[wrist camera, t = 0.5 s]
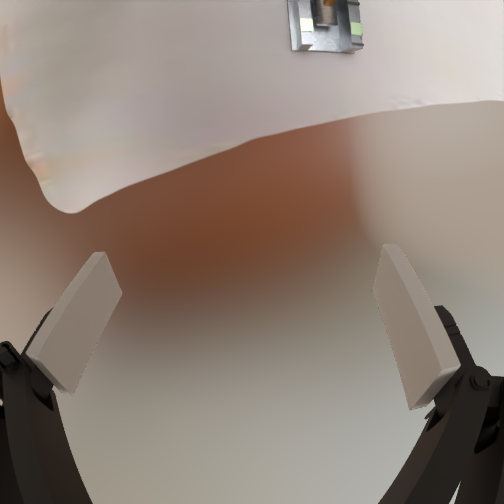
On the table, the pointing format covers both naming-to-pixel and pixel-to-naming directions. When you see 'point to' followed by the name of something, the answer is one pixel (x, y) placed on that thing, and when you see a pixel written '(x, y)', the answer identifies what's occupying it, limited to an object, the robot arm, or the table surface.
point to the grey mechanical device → (325, 13)
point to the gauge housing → (325, 28)
